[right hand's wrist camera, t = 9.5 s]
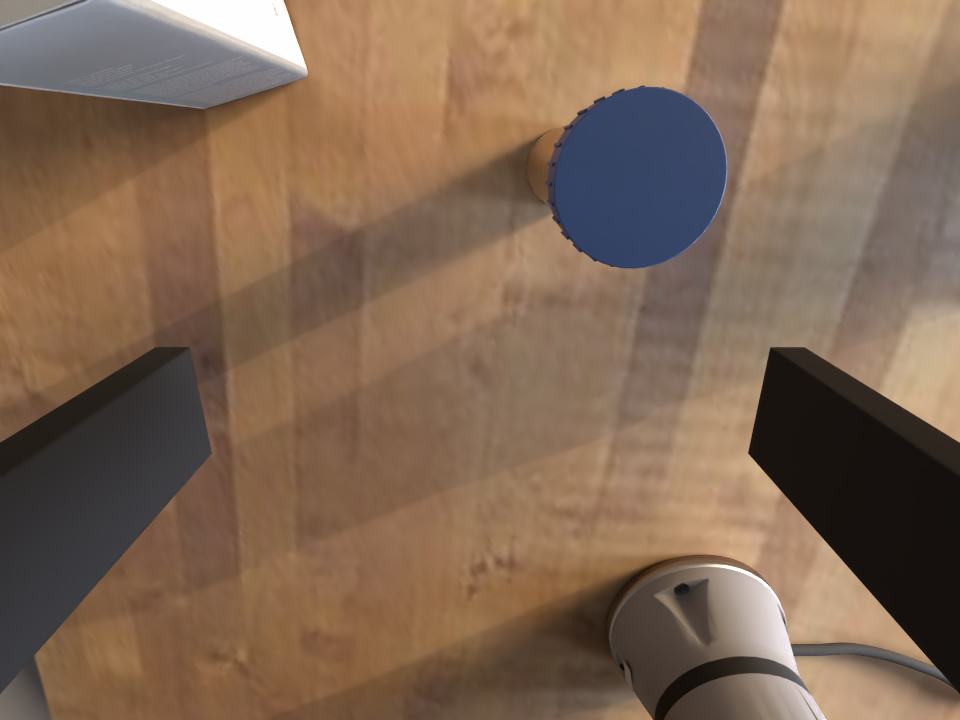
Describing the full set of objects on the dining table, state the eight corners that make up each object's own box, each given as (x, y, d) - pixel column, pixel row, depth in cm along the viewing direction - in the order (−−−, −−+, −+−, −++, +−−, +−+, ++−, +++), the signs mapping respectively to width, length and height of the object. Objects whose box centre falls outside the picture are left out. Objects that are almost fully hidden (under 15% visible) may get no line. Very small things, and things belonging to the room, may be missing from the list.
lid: (618, 290, 22) (631, 303, 20) (512, 183, 20) (515, 186, 18) (739, 176, 20) (765, 179, 18) (634, 51, 19) (651, 39, 17)
